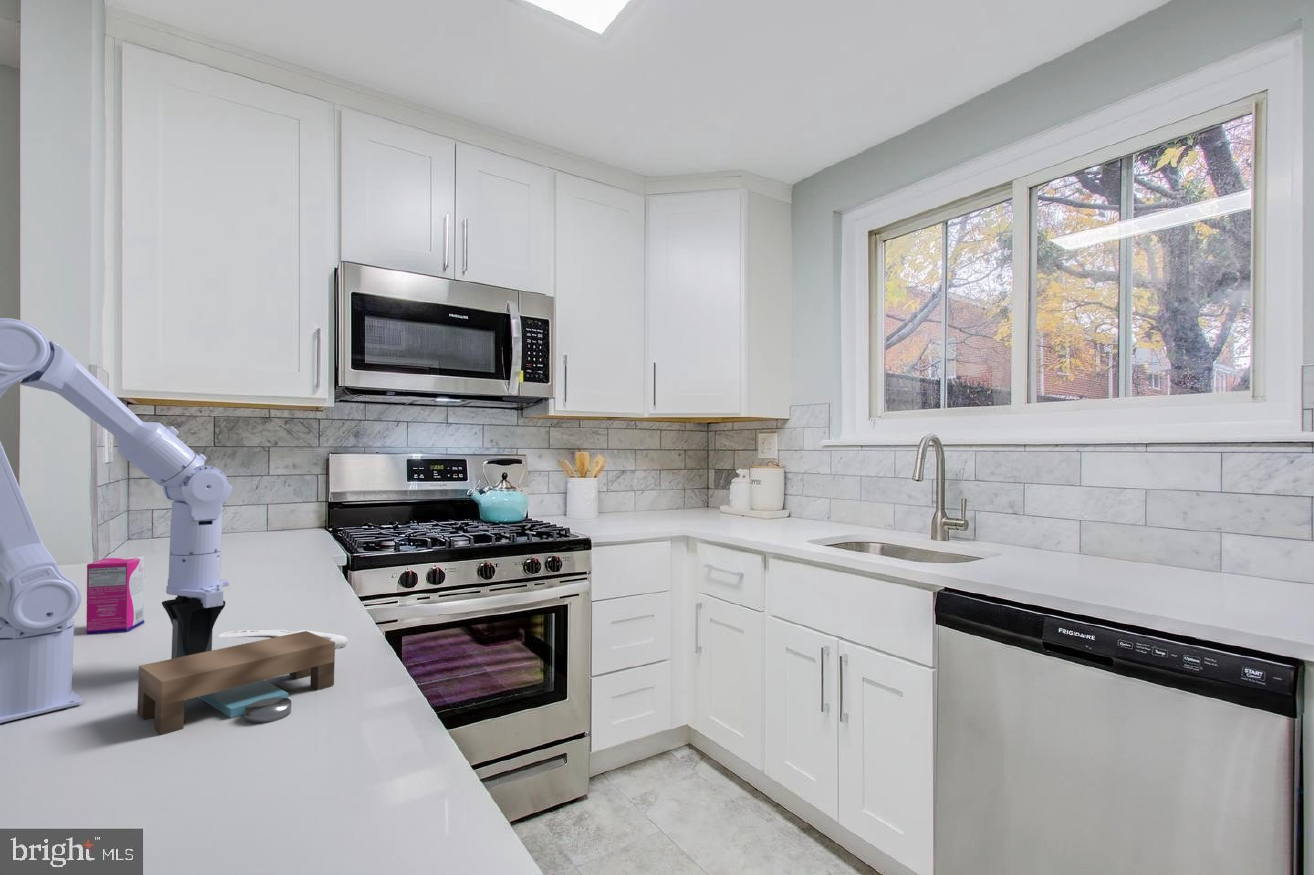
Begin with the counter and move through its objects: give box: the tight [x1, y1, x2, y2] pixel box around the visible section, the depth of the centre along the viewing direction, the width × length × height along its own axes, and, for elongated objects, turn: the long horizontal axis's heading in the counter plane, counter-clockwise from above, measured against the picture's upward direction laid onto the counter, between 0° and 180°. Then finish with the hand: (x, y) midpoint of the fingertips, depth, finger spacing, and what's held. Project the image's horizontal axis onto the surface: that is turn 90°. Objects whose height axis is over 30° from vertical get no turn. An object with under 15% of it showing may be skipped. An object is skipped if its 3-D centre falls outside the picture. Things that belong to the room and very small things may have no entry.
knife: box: [218, 629, 349, 649], centre depth 99 cm, size 30×2×8 cm
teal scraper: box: [170, 618, 289, 719], centre depth 79 cm, size 6×23×7 cm, turn 54°
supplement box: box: [85, 555, 146, 635], centre depth 103 cm, size 6×6×12 cm
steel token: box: [243, 697, 292, 725], centre depth 71 cm, size 4×4×1 cm
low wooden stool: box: [136, 631, 336, 735], centre depth 75 cm, size 18×8×6 cm, turn 143°
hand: (192, 652), depth 85 cm, fingers closed on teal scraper
